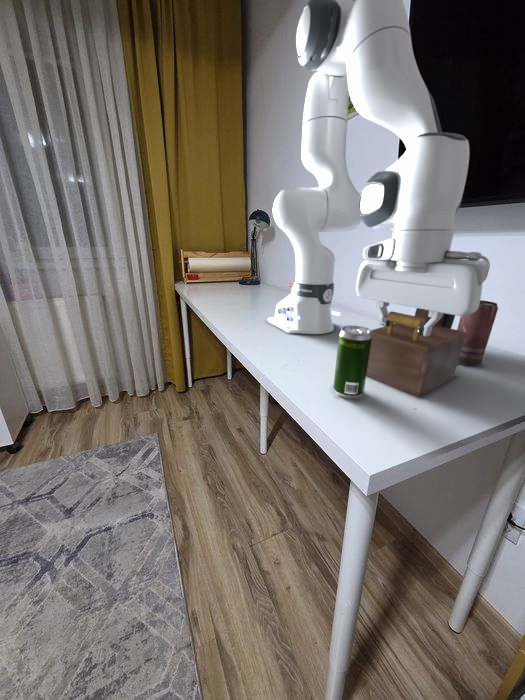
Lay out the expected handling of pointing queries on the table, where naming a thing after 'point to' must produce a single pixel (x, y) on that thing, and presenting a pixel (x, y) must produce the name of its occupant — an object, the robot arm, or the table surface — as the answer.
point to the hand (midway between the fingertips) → (403, 329)
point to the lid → (415, 333)
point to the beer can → (352, 361)
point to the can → (476, 333)
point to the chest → (412, 365)
